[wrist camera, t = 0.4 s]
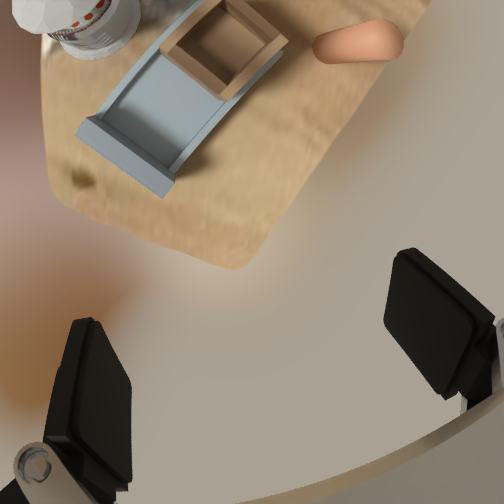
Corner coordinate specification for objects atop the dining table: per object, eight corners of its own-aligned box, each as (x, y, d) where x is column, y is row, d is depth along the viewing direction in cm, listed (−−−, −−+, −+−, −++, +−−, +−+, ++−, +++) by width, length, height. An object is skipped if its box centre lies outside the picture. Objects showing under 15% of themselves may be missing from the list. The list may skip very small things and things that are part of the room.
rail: (208, -7, 26) (215, -24, 21) (280, 54, 31) (299, 48, 26) (89, 128, 30) (73, 135, 25) (163, 182, 36) (162, 198, 30)
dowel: (326, 27, 31) (384, 11, 20) (348, 51, 33) (410, 44, 22) (305, 46, 31) (359, 33, 21) (328, 70, 33) (387, 68, 23)
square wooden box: (214, 2, 26) (223, -15, 20) (269, 48, 29) (288, 41, 24) (161, 54, 27) (158, 46, 22) (218, 100, 31) (228, 101, 26)
